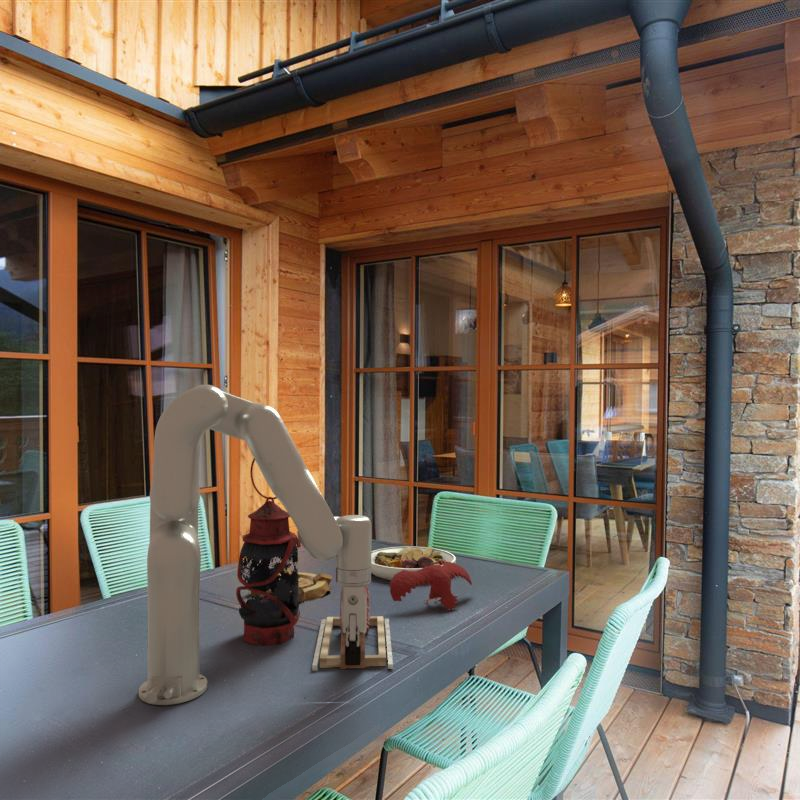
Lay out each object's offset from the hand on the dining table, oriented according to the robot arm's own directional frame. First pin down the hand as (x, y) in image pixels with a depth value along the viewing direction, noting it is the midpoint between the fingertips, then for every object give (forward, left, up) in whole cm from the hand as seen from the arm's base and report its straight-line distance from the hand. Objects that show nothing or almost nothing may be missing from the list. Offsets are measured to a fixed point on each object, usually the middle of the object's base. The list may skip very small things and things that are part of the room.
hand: (352, 660), depth 139 cm
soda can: (+19, 0, -2) cm, 19 cm away
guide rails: (+12, 0, -1) cm, 12 cm away
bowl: (+76, -17, -2) cm, 78 cm away
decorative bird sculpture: (+40, -22, -2) cm, 46 cm away
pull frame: (+12, 0, -1) cm, 12 cm away
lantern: (+18, +21, -2) cm, 27 cm away
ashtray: (+55, +20, -2) cm, 58 cm away
